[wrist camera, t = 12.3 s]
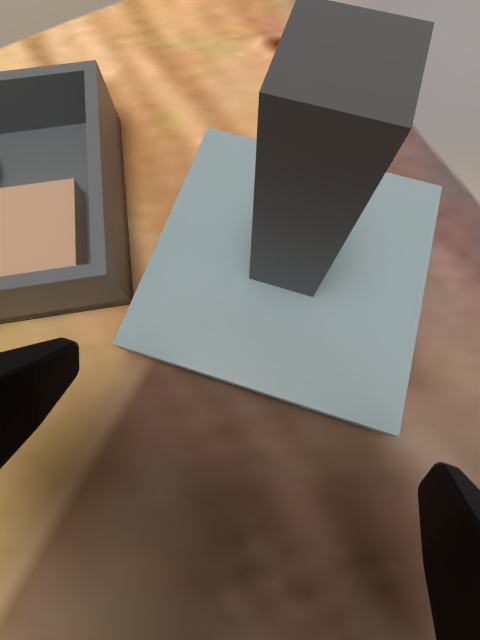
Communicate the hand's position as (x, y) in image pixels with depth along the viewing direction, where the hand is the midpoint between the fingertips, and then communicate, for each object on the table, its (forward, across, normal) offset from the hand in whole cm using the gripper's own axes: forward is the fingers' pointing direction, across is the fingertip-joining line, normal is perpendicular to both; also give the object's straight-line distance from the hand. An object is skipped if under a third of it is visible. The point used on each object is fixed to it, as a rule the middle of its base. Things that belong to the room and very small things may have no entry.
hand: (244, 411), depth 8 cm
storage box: (+10, +15, +1) cm, 18 cm away
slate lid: (+10, 0, 0) cm, 10 cm away
